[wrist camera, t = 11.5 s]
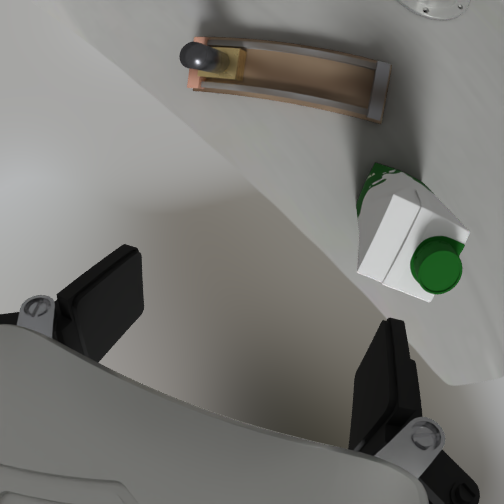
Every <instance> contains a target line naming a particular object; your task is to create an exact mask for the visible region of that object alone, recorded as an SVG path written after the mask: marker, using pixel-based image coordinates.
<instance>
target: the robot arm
mask: <svg viewBox="0 0 504 504" xmlns="http://www.w3.org/2000/svg"><path fill="white" fill-rule="evenodd" d="M397 1H398V2H399V3H401V4H402V5H403V6H404V7H406V8H407V9H409V10H410V11H412V12H414V13H416V14H418V15H420V16H423V17H426V18H430V19H434V20H449V19H453V18H456V17H458V16H459V15H461V14H462V13H463V12H464V11H465V10H466V9H467V7H468V6H469V3H470V0H397ZM458 7H459V8H460V9H459V8H458ZM424 11H426V13H425V12H424ZM143 310H144V299H143V281H142V257H141V253H140V252H139V251H138V249H137V248H136V247H133V246H129V245H126V244H124V245H122V246H120V247H119V248H118V249H116V250H115V251H113V252H112V253H111V254H109V255H108V256H106V257H105V258H104V259H102V260H101V261H100V262H98V263H97V264H96V265H94V266H93V267H92V268H90V269H89V270H88V271H86V272H85V273H84V274H82V275H81V276H80V277H78V278H77V279H76V280H74V281H73V282H72V283H71V284H69V285H68V286H67V287H65V288H64V289H63V290H62V291H60V292H59V293H58V294H57V300H56V301H55V302H54V300H53V299H52V298H50V297H49V296H45V295H37V296H33V297H31V298H29V299H27V300H26V301H25V302H24V303H23V304H22V306H21V308H20V312H17V313H16V312H15V313H8V314H0V504H478V503H479V498H480V493H479V489H478V486H477V484H476V483H475V482H474V481H473V480H472V479H471V478H470V477H469V476H468V475H467V474H466V473H465V472H464V471H463V470H462V469H461V468H460V467H459V466H458V465H457V464H456V463H455V462H454V461H453V460H452V459H451V458H450V457H449V456H448V455H447V454H446V453H445V452H444V451H443V450H442V448H443V446H444V444H445V435H444V432H443V430H442V428H441V427H440V425H438V423H437V422H435V421H434V420H432V419H430V418H427V417H422V408H421V399H420V391H419V383H418V376H417V369H416V363H415V361H414V360H411V359H410V355H409V354H410V353H409V347H408V341H407V335H406V329H405V323H404V321H402V320H398V319H394V318H388V319H387V321H384V320H383V321H382V322H381V324H380V326H379V328H378V330H377V332H376V334H375V336H374V338H373V340H372V342H371V344H370V346H369V348H368V350H367V352H366V354H365V356H364V358H363V360H362V362H361V364H360V366H359V368H358V370H357V371H356V375H355V379H354V393H353V407H352V408H353V409H352V419H351V429H350V440H349V448H348V449H345V448H341V447H336V446H331V445H327V444H322V443H318V442H313V441H309V440H306V439H302V438H297V437H293V436H290V435H286V434H282V433H278V432H275V431H271V430H267V429H264V428H261V427H257V426H254V425H250V424H247V423H244V422H241V421H238V420H235V419H231V418H229V417H226V416H223V415H220V414H217V413H214V412H211V411H208V410H205V409H203V408H200V407H197V406H194V405H192V404H189V403H187V402H184V401H182V400H179V399H177V398H174V397H171V396H169V395H167V394H164V393H162V392H160V391H157V390H155V389H153V388H150V387H148V386H146V385H143V384H141V383H139V382H137V381H134V380H132V379H130V378H128V377H126V376H124V375H122V374H120V373H117V372H115V371H113V370H111V369H109V368H107V367H105V366H103V365H101V364H99V363H98V362H99V361H100V360H101V359H102V358H103V356H104V355H105V354H106V353H107V352H108V351H109V350H110V349H111V348H112V346H113V345H114V344H115V343H116V342H117V341H118V339H120V338H121V336H122V335H123V334H124V333H125V332H126V330H128V329H129V328H130V326H131V325H132V324H133V323H134V322H135V321H136V320H137V319H138V318H139V317H140V315H141V314H142V312H143Z"/></svg>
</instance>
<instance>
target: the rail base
mask: <svg viewBox="0 0 504 504" xmlns="http://www.w3.org/2000/svg"><path fill="white" fill-rule="evenodd" d="M194 42H199V43H202V44H204V45H207V46H210V47H223V48H239V49H242V50H244V51H245V52H247V56H246V62H245V69H244V75H243V81H238V80H228V79H217V78H206V77H199V76H197V74H198V70H196V69H189V77H188V84H187V88H193V91H202V92H213V93H223V94H232V95H240V96H248V97H255V98H262V99H269V100H275V101H281V102H287V103H292V104H298V105H303V106H308V107H313V108H318V109H322V110H327V111H331V112H336V113H340V114H344V115H348V116H352V117H356V118H360V119H364V120H368V121H371V122H375V123H378V124H381V122H382V118H383V113H384V108H385V102H386V97H387V92H388V86H389V81H390V75H391V69H392V65H391V64H389V63H385V62H382V61H376V60H373V59H369V58H365V57H361V56H356V55H352V54H348V53H343V52H338V51H334V50H328V49H323V48H318V47H312V46H306V45H299V44H292V43H285V42H277V41H267V40H257V39H244V38H227V37H194Z"/></svg>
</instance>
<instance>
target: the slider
mask: <svg viewBox="0 0 504 504" xmlns="http://www.w3.org/2000/svg"><path fill="white" fill-rule="evenodd" d="M246 56H247V52H245V51H244V50H242V49H239V48H223V47H210V46H207V45H204V44H202V43H199V42H190V43H188V44H186V45H185V46H184V47H183V48H182V50H181V52H180V61H181V63H182V65H183V66H185V67H187V68H190V69H196V70H198V74H197V76H199V77H206V78H217V79H228V80H238V81H243V75H244V69H245V62H246Z"/></svg>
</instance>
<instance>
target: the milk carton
mask: <svg viewBox="0 0 504 504" xmlns="http://www.w3.org/2000/svg"><path fill="white" fill-rule="evenodd" d="M356 209H357V217H358V228H359V247H358V265H357V273H359V274H362V275H364V276H367V277H369V278H372V279H374V280H377V281H379V282H381V283H382V284H383V285H385V286H387V287H390V288H394V289H396V290H399V291H401V292H404V293H406V294H409V295H412V296H414V297H417V298H419V299H422V300H424V301H427V302H430V301H431V300H432V298H433V297H434V295H435V294H443V293H446V292H448V291H450V290H451V289H452V288H454V287H455V286H456V285H457V283H458V282H459V280H460V278H461V275H462V263H461V260H460V258H459V255H460V253H461V252H462V250H463V248H464V246H465V245H464V243H465V242H466V240H467V238H468V236H469V234H470V231H469V230H468V229H467V228H466V227H465V226H464V225H463V224H462V223H461V222H460V221H459V220H458V219H457V218H456V216H455V215H454V214H453V213H452V212H451V211H450V210H449V209H448V208H447V207H446V206H445V205H444V204H443V203H442V202H441V201H440V200H439V199H438V198H437V197H436V196H435V194H434V193H433V192H432V191H431V190H430V189H429V188H428V187H427V186H426V185H425V184H424V183H423V182H421V181H420V180H418V179H416V178H414V177H412V176H410V175H408V174H406V173H404V172H402V171H400V170H397V169H394V168H391V167H388V166H385V165H382V164H379V163H376V162H375V164H374V166H373V168H372V170H371V172H370V174H369V175H368V177H367V179H366V181H365V184H364V186H363V189H362V191H361V194H360V196H359V199H358V201H357V204H356Z"/></svg>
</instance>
